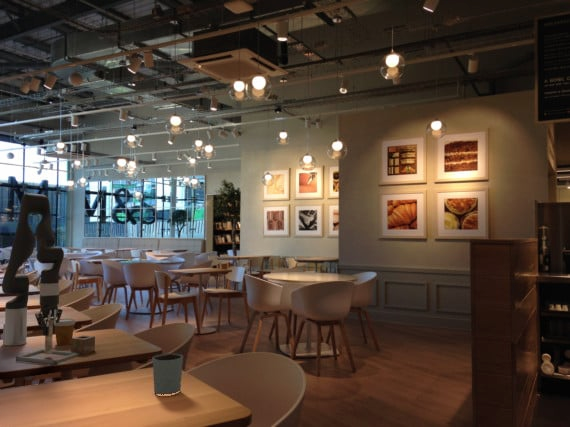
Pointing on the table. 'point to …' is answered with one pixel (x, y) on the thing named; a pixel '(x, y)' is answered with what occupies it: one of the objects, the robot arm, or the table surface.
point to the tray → (45, 361)
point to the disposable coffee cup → (64, 331)
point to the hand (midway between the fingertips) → (48, 334)
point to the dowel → (49, 338)
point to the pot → (83, 344)
